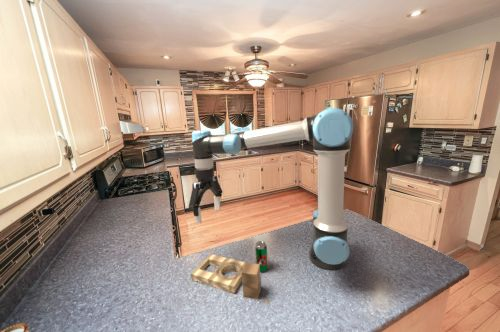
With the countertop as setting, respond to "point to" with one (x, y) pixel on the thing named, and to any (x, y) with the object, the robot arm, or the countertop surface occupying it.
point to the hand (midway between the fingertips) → (208, 215)
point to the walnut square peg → (251, 280)
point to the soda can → (261, 255)
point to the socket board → (220, 273)
